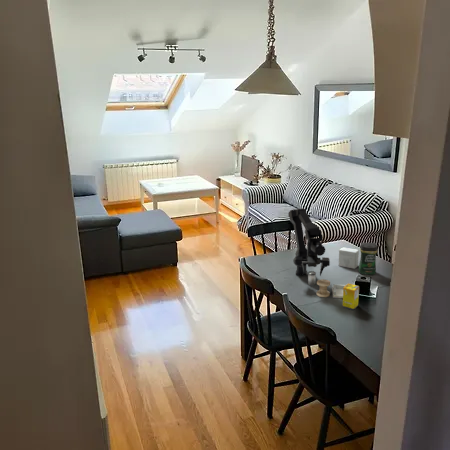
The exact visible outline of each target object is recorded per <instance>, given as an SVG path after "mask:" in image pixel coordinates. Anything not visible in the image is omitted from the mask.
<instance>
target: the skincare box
mask: <svg viewBox="0 0 450 450" xmlns="http://www.w3.org/2000/svg"><path fill="white" fill-rule="evenodd" d="M359 254H360V249H355V248H349V247H345V246H344V247H341V248H340V249H339V250H338V267H344V268H350V269H354V270H355V269H356V268H357V267H359V256H360V255H359Z"/></svg>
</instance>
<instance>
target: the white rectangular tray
mask: <svg viewBox="0 0 450 450" xmlns="http://www.w3.org/2000/svg"><path fill="white" fill-rule="evenodd" d="M346 285H347V284H336V283H335V284H333V286H332V287H331V290H332V298H336V299H337V298H338V299H341V298H342V299H343V287H345V286H346Z"/></svg>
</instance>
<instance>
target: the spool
mask: <svg viewBox="0 0 450 450" xmlns="http://www.w3.org/2000/svg"><path fill="white" fill-rule="evenodd" d="M316 285H318V286H319V290H317V291H316V295H317V296H318V297H319V298H328V297H330V296H331V292H330V291H328V287H329V286H331V281H330V280H328V279H324V278H321V279H318V280H317V281H316Z"/></svg>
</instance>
